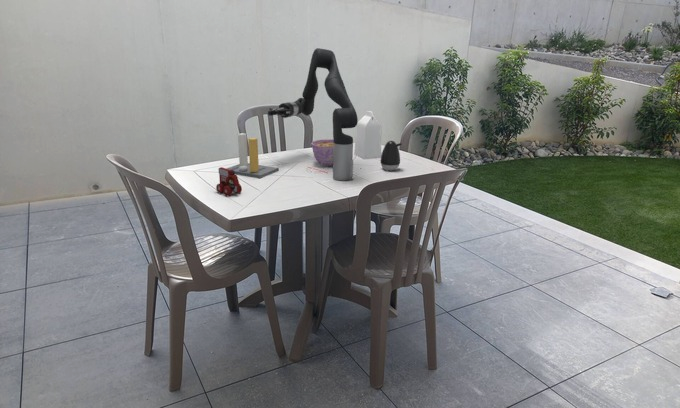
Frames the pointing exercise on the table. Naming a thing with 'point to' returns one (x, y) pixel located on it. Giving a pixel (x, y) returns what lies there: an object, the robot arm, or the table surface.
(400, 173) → the table surface
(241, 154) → the lever ivory
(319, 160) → the bowl of food
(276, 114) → the robot arm
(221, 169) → the toy fire truck
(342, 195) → the table surface
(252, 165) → the lever amber
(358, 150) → the milk
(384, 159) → the pump dispenser
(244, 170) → the button grey
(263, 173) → the panel
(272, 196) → the table surface
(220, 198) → the table surface
